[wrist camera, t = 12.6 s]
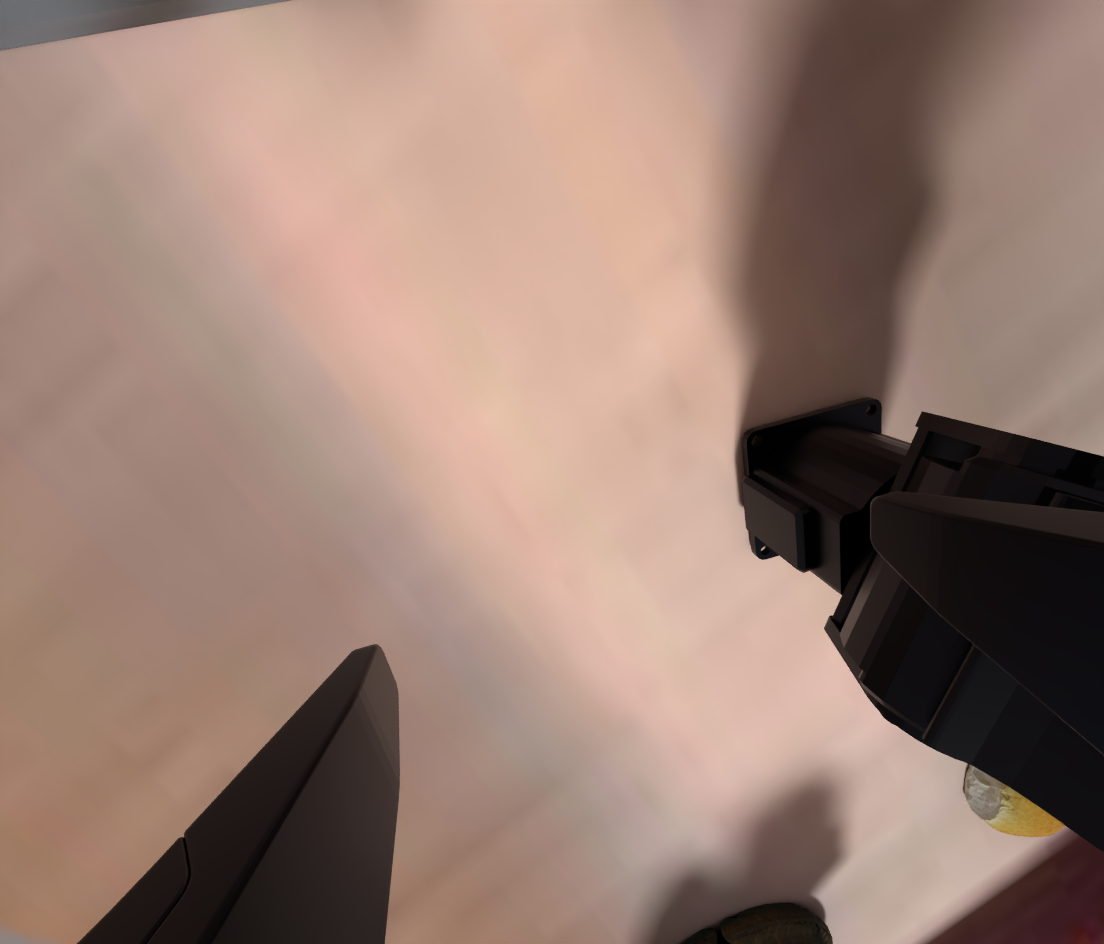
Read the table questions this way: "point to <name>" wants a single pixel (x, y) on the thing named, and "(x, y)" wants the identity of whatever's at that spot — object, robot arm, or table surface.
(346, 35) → the table surface
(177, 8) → the socket
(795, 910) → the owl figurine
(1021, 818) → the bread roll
